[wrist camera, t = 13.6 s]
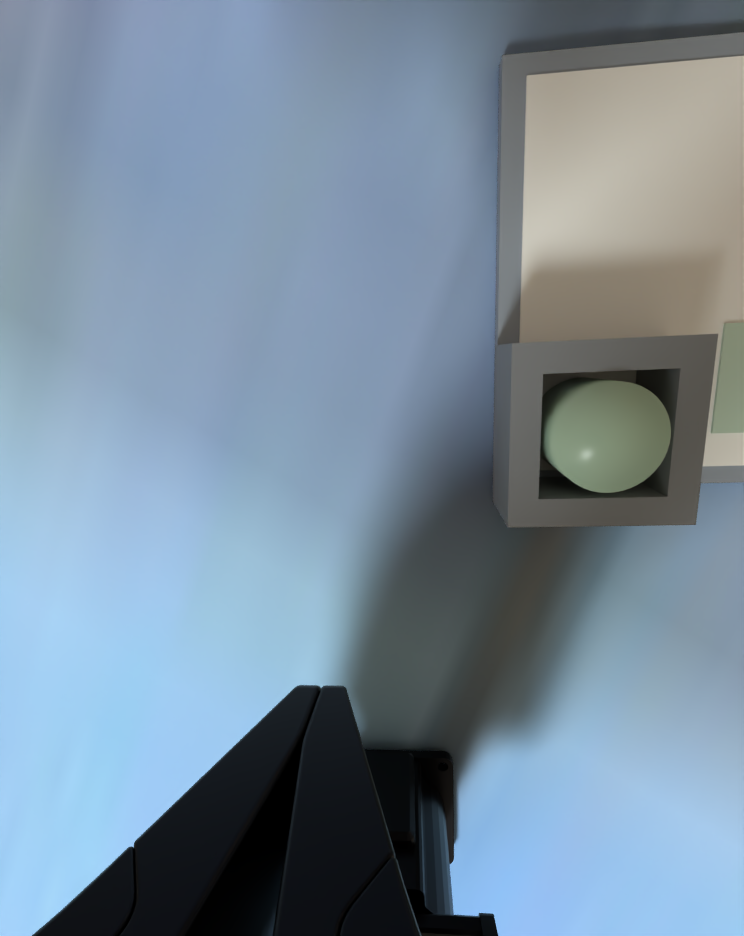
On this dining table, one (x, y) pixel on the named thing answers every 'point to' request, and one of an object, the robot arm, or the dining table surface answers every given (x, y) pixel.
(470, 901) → the dining table surface
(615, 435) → the button
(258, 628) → the dining table surface
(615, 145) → the square board tray
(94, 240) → the dining table surface
